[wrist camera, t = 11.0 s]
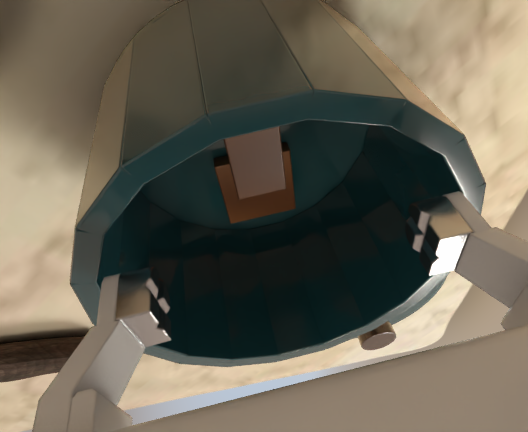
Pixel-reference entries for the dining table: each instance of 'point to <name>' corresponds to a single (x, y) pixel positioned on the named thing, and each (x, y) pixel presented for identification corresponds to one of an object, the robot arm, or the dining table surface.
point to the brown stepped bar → (256, 175)
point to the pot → (303, 170)
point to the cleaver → (35, 357)
